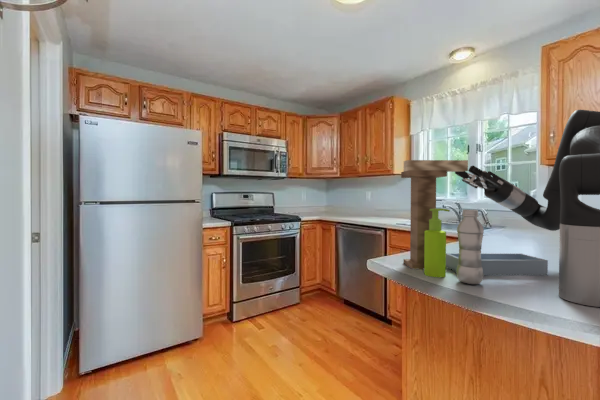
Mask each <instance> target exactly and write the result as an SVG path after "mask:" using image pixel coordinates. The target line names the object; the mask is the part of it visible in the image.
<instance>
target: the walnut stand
mask: <svg viewBox="0 0 600 400" xmlns="http://www.w3.org/2000/svg"><path fill="white" fill-rule="evenodd" d="M446 177H448V172H447V170H409V171H404V170H403V171H402V172H401V175H400V178H401V179H410V231H409V232H410V248H409V249H410V251H409V253H410V255H409V257H410V258H406V259H405V258H403V264H404V263H405V264H406V265H405V264H404V265H405V266H407V267H408V266H409V268H410V269H411V268H412V269H411V270H424V245H425V231H426V230H429V220H430V219H431V218H432V211H430V209H434V208H437V179H439V178H446Z"/></svg>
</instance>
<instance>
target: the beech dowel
mask: <svg viewBox="0 0 600 400" xmlns="http://www.w3.org/2000/svg"><path fill="white" fill-rule="evenodd" d="M409 170H447V173H448V172H449V173H455V172H464V171H465V172H469V171H468V170H469V160H467V159H466V160H465V159H462V160H459V159H457V160H456V159H454V160H453V159H452V160H450V159H447V160H445V159H442V160H440V159H438V160H437V159H435V160H432V159H429V160H428V159H414V160H413V159H407V160H404V161H403V172H404V171H409Z"/></svg>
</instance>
